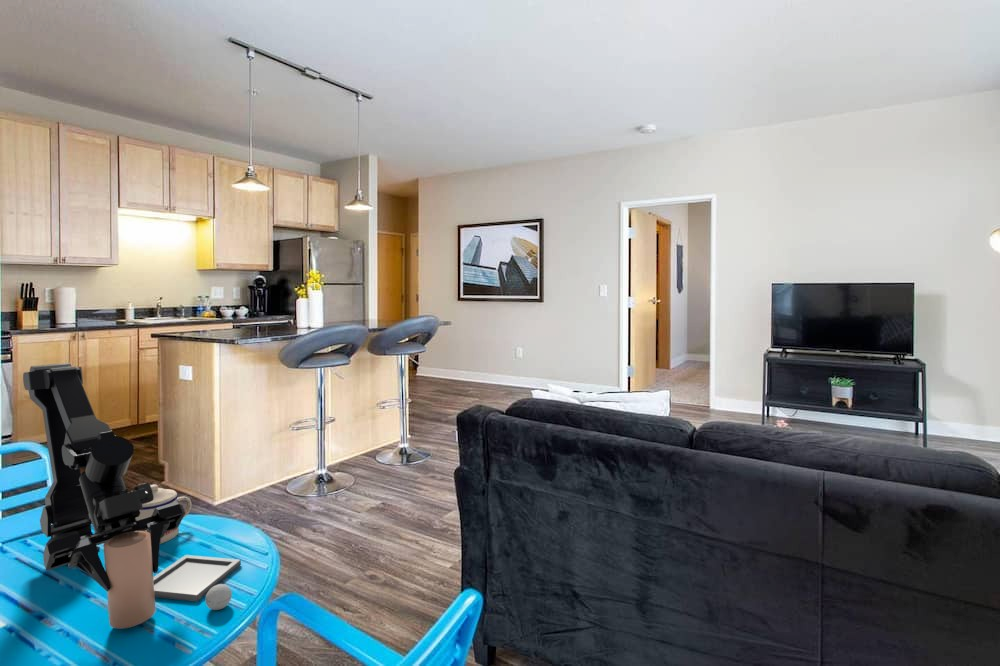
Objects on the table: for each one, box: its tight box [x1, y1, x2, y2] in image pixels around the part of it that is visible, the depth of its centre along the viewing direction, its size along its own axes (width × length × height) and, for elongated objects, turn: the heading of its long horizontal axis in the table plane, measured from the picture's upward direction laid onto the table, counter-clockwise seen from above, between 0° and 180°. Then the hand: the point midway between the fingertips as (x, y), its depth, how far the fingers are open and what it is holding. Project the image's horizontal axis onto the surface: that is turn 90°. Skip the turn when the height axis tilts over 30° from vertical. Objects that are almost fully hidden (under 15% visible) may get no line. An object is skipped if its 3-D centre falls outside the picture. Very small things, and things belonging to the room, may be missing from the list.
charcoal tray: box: [153, 554, 242, 602], centre depth 100 cm, size 12×12×1 cm
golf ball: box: [204, 583, 233, 611], centre depth 91 cm, size 4×4×4 cm
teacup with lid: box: [136, 483, 192, 545], centre depth 117 cm, size 12×9×12 cm
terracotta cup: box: [102, 531, 157, 629], centre depth 87 cm, size 6×6×13 cm
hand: (133, 580), depth 86 cm, fingers closed on terracotta cup, 6 cm apart
